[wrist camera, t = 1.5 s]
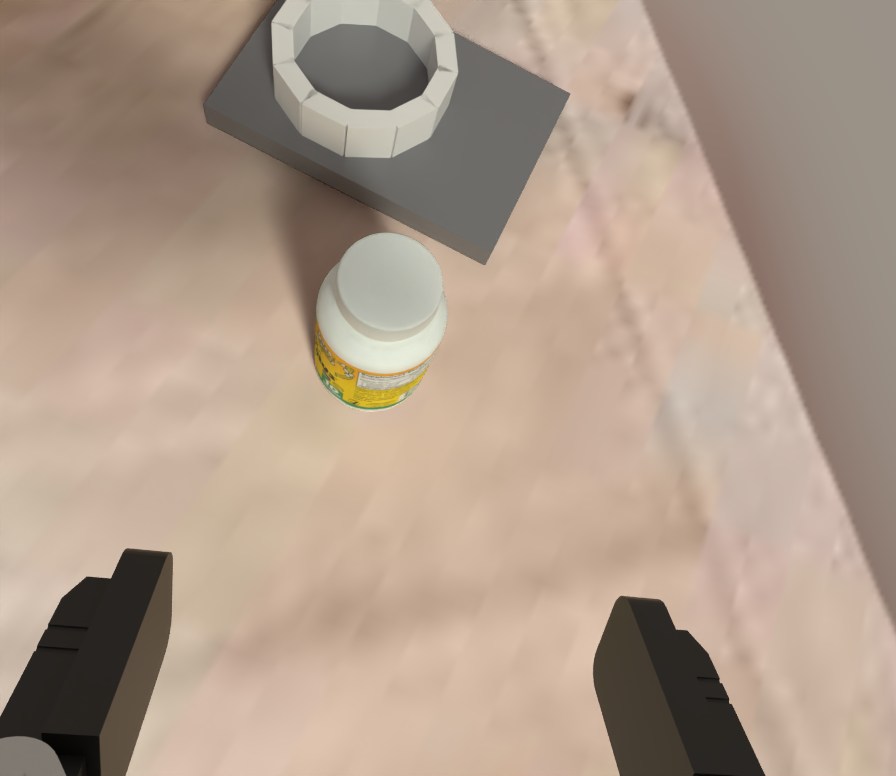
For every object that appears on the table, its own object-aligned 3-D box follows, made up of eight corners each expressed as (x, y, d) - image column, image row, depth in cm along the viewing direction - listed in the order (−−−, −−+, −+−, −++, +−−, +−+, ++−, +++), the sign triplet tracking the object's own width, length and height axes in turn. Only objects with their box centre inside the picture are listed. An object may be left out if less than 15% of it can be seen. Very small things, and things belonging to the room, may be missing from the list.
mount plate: (206, 122, 39) (196, 71, 35) (308, -23, 43) (309, -84, 39) (484, 265, 40) (504, 229, 36) (561, 110, 43) (586, 63, 40)
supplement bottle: (429, 409, 37) (470, 346, 28) (317, 418, 36) (323, 354, 27) (416, 306, 38) (452, 214, 29) (309, 311, 37) (312, 216, 28)
